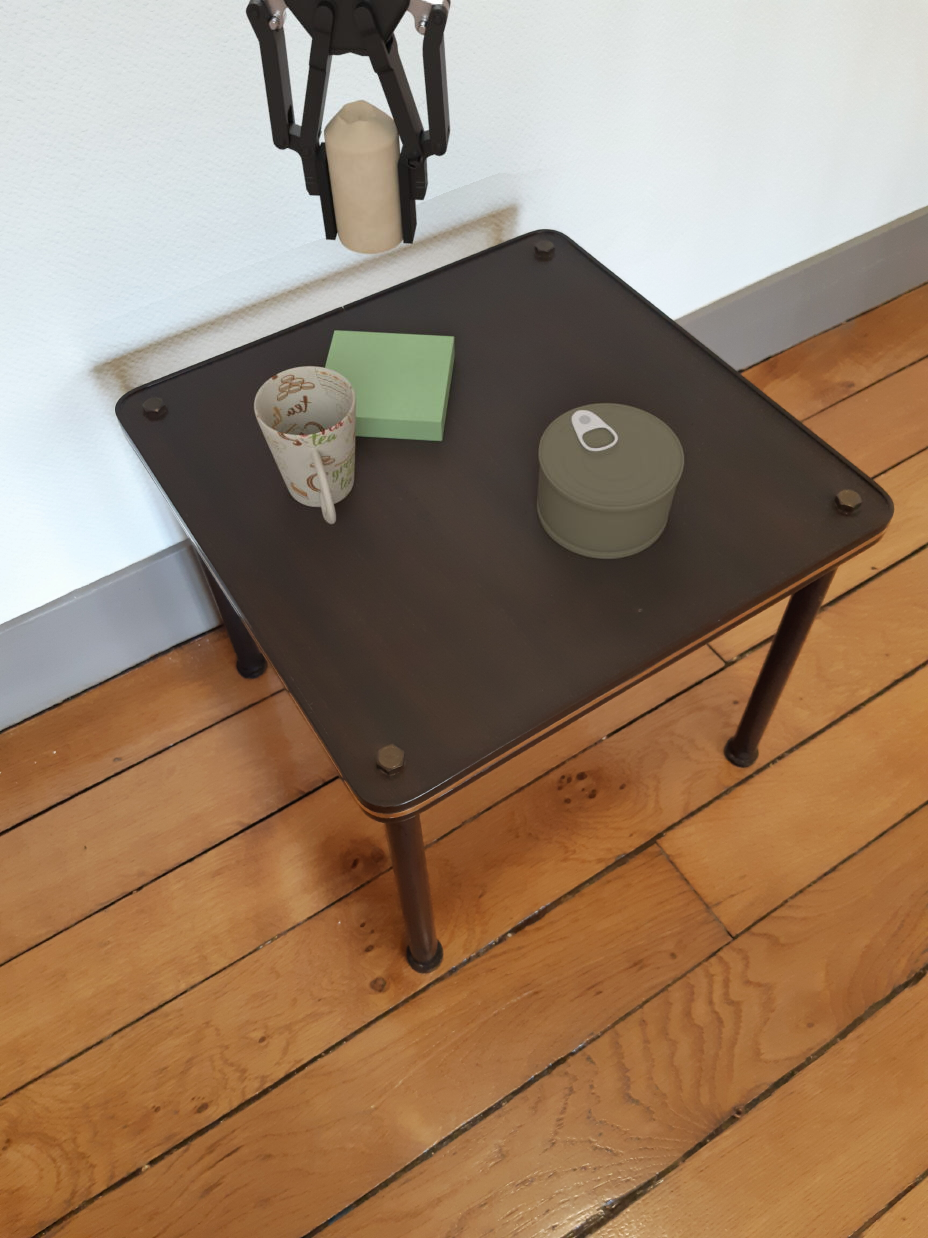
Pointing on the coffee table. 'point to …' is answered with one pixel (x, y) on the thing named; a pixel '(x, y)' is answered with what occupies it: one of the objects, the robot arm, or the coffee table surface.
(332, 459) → the mug
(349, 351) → the foam pad
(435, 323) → the coffee table surface
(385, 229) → the candle
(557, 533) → the can
